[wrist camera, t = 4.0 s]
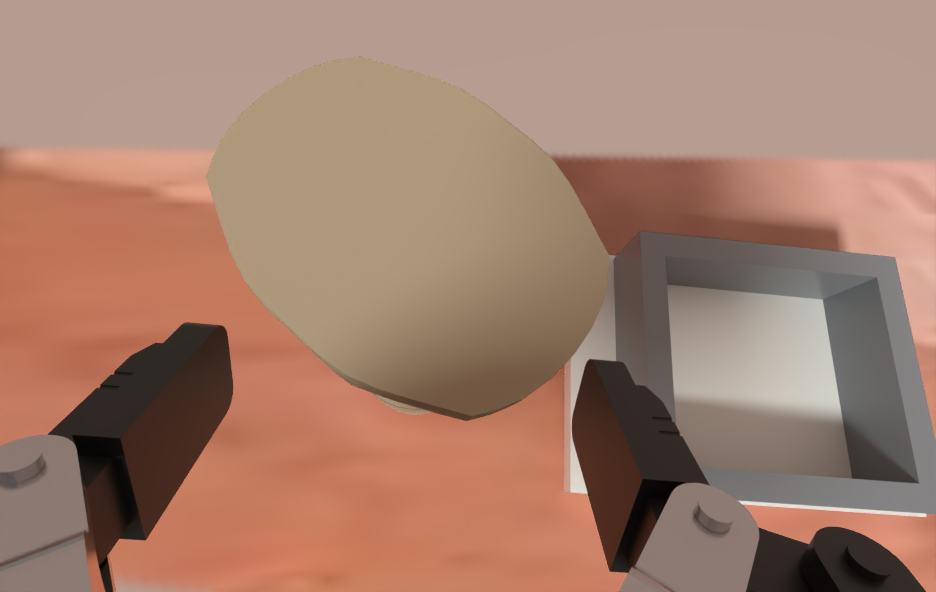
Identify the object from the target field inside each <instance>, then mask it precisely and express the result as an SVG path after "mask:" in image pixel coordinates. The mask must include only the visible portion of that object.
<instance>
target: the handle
mask: <svg viewBox="0 0 936 592" xmlns="http://www.w3.org/2000/svg"><path fill="white" fill-rule="evenodd" d="M206 178H207V181H208V184H209V188H210V191H211V194H212V197H213V201H214V204H215V207H216V211H217V214H218V217H219V220H220V223H221V226H222V229H223V232H224V235H225V238H226V241H227V244H228V247H229V250H230V253H231V255H232V257H233V259H234V261H235V263H236V265H237V267H238V269H239V271H240V273H241V275H242V277H243V279H244V281H245V282H246V284H247V285H248V286H249V287H250V289H251V290H252V291H253V293H254V294H255V295H256V296H257V298H258V299H259V300H260V302H261V303H262V304H263V305H264V306H265V307H266V308H267V309H268V310H269V311H270V312H271V313H272V314H273V315H274V316H275V317H276V318H277V319H278V320H279V321H280V322H281V323H282V324H284V325H285V326H286V327H287V328H288V329H289V330H290V331H291V332H292V333H293V334H294V335H295V336H296V337H297V338H298V339H299V340H301V341H302V342H303V343H304V344H305V345H306V346H307V347H308V348H309V349H310V350H311V351H312V352H313V353H314V354H316V355H317V356H318V357H319V358H320V359H321V360H322V361H323V362H324V363H325V364H326V365H327V366H329V367H330V368H331V369H332V370H333V371H334V372H335V373H336V374H337V375H339V376H340V377H341V378H343V379H344V380H345V381H347V382H348V383H350V384H351V385H353V386H356V387H358V388H361V389H363V390H366V391H369V392H371V393H373V394H374V395H375V396H376V397H377V398H378V399H379V400H380V401H382V402H383V403H384V404H385V405H387V406H389V407H390V408H392V409H394V410H396V411H399V412H402V413H406V414H415V415H419V414H427V413H430V412H434V413H438V414H442V415H445V416H449V417H453V418H457V419H461V420H465V421H469V420H472V419H476V418H480V417H483V416H487V415H490V414H493V413H495V412H497V411H500V410H502V409H504V408H507V407H509V406H511V405H514V404H516V403H518V402H519V401H521V400H522V399H524V398H525V397H527V396H528V395H529V394H531V393H532V392H534V391H535V390H536V389H538V388H539V387H540V386H542V385H543V384H544V383H546V382H547V381H549V380H550V379H551V378H552V377H553V376H554V375H555V374H556V373H557V372H558V371H559V370H560V369H561V368H562V367H563V366H564V365H565V364H566V363H567V362H568V360H569V359H570V358H571V357H572V356H573V355H574V354H575V353H576V351H577V350H578V348H579V347H580V345H581V344H582V342H583V341H584V339H585V338H586V336H587V335H588V333H589V332H590V330H591V329H592V327H593V325H594V323H595V320H596V318H597V316H598V313H599V311H600V309H601V307H602V304H603V302H604V298H605V292H606V287H607V281H608V269H609V254H608V252H607V250H606V248H605V247H604V245H603V243H602V241H601V239H600V237H599V235H598V233H597V231H596V229H595V228H594V226H593V224H592V222H591V220H590V218H589V216H588V214H587V212H586V211H585V209H584V207H583V205H582V204H581V202H580V200H579V198H578V196H577V195H576V193H575V191H574V189H573V188H572V186H571V184H570V182H569V181H568V180H567V178H566V177H565V175H564V174H563V173H562V171H561V170H560V169H559V167H558V166H557V164H556V163H555V162H554V160H553V159H552V158H551V157H550V156H549V155H547V154H546V153H545V152H544V151H543V150H542V149H541V148H540V147H539V146H538V145H537V144H536V143H535V142H533V141H532V140H531V139H530V138H529V137H527V136H526V135H525V134H524V133H522V132H521V131H520V130H518V129H517V128H516V127H514V126H513V125H512V124H511V123H509V122H508V121H507V120H506V119H504V118H503V117H502V116H500V115H499V114H498V113H497V112H495V111H494V110H493V109H491V108H490V107H489V106H488V105H486V104H485V103H483V102H482V101H480V100H478V99H477V98H475V97H474V96H472V95H470V94H469V93H467V92H466V91H464V90H463V89H461V88H458V87H456V86H453V85H451V84H448V83H446V82H444V81H441V80H439V79H436V78H433V77H430V76H426V75H423V74H420V73H416V72H413V71H410V70H407V69H403V68H400V67H396V66H392V65H389V64H385V63H382V62H378V61H374V60H371V59H367V58H364V57H354V58H347V59H340V60H335V61H331V62H327V63H324V64H320V65H316V66H313V67H311V68H309V69H307V70H305V71H302V72H300V73H298V74H296V75H294V76H292V77H289V78H288V79H286V80H285V81H283V82H282V83H280V84H279V85H277V86H276V87H274V88H273V89H271V90H270V91H268V92H267V93H265V94H264V95H262V96H261V97H260V98H259V99H258V100H257V101H256V102H254V103H253V104H252V105H251V106H250V107H249V108H248V109H246V110H245V111H244V112H243V113H242V114H241V115H240V116H239V118H238V119H237V120H236V121H235V122H234V124H233V125H232V126H231V127H230V128H229V130H228V131H227V132H226V133H225V134H224V136H223V138H222V140H221V142H220V144H219V146H218V148H217V150H216V152H215V154H214V156H213V158H212V161H211V164H210V167H209V170H208V173H207V176H206Z"/></svg>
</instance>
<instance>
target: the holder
mask: <svg viewBox="0 0 936 592" xmlns="http://www.w3.org/2000/svg"><path fill="white" fill-rule="evenodd" d="M589 359H597V360H608V361H619V362H623V363H624V364H625V365H626V367H627V369H628V371H629V373H630V375H631V377H632V379H633V381H634V383H635V385H642V386H646V387H647V388H648V389H649V390H651V391H652V392H653V393H654V394H655V395H656V396H657V397H658V398H659V399H661V400H662V401H663V403H664V405H665V406H666V408H667V410H668V412H669V414H670V415H671V417H672V422H675V424H676V426H677V428H678V430H679V431H680V436H682V437H683V438H684V440H685V442H686V444H687V446H688V447H689V449H690V451H691V453H692V454H693V456H694V458H695V460H696V462H697V463H698V465H699V467H700V469H701V470H702V472H703V474H704V476H705V478H706V479H707V481H708V483H709V485H710V486H712V487H715V488H717V489H720V490H722V491H724V492H726V493H727V494H729V495H731V496H732V497H733V498H735V499H736V500H738V501H739V502H740V503H741V504H745V505H759V506H774V507H788V508H803V509H817V510H832V511H846V512H861V513H875V514H890V515H904V516H919V517H926V514H936V441H935V436H934V432H933V427H932V423H931V418H930V414H929V409H928V405H927V400H926V395H925V391H924V386H923V382H922V377H921V373H920V368H919V364H918V359H917V355H916V350H915V345H914V341H913V336H912V332H911V327H910V323H909V318H908V314H907V309H906V305H905V300H904V295H903V291H902V286H901V282H900V277H899V273H898V268H897V264H896V259H895V257H889V256H879V255H869V254H860V253H850V252H840V251H830V250H821V249H811V248H801V247H792V246H782V245H772V244H762V243H753V242H743V241H733V240H724V239H714V238H704V237H694V236H685V235H675V234H665V233H656V232H646V231H639V233H638V234H637V235H636V236H635V237H634V238H633V239H632V240H631V241H630V242H629V243H628V244H627V245H626V246H625V247H624V249H623V250H622V251H621V252H620V253H619V254H618V255H617V256H616V255H609V269H608V281H607V287H606V292H605V298H604V302H603V304H602V307H601V309H600V311H599V313H598V316H597V318H596V320H595V323H594V325H593V327H592V329H591V330H590V332H589V333H588V335H587V336H586V338H585V339H584V341H583V342H582V344H581V345H580V347H579V348H578V350H577V351H576V353H575V354H574V355H573V356H572V357H571V358H570V359H569V360H568V362H567V363H566V364H565V365H564V491H565V492H571V493H586V494H588V493H587V489H586V486H585V482H584V478H583V475H582V471H581V468H580V464H579V461H578V457H577V454H576V450H575V446H574V443H573V438H572V416H573V411H574V407H575V403H576V399H577V395H578V391H579V388H580V384H581V380H582V376H583V372H584V368H585V365H586V363H587V361H588V360H589Z"/></svg>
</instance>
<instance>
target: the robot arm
mask: <svg viewBox="0 0 936 592" xmlns="http://www.w3.org/2000/svg"><path fill="white" fill-rule="evenodd" d="M232 395H233V379H232V370H231V361H230V353H229V344H228V336H227V331H226V329H225V328H224V327H223V326H221V325H211V324H199V323H188V322H187V323H184V324H182V325H181V326H180V327H179V328H178V329H177V330H176V331H175V332H174V333H173V334H172V335H171V336H170V337H169V338H168V339H167V340H166V341H165V342H164V343H155V344H153V345H151V346H149V347H147V348H145V349H143V350H141V351H139V352H137V353H135V354H133V355H131V356H130V357H129V358H128V359H127V360H126V361H125V362H124V363H123V364H122V365H121V366H120V367H119V368H118V369H116V370H115V373H114V375H110V376H109V377H108V378H107V379H106V380H105V381H104V382H103V383H102V384H101V386H100V388H96V389H95V390H94V391H93V392H92V393H91V394H90V395H89V396H88V397H87V398H86V399H85V400H84V401H83V402H82V403H80V404H79V405H78V406H77V407H76V408H75V409H74V410H73V411H72V412H71V413H70V414H69V415H68V416H67V417H66V418H65V419H64V420H62V421H61V422H60V423H59V424H58V425H57V426H56V427H55V428H54V429H53V430H52V431H51V432H50V433H49V434H48V435H38V436H31V437H26V438H22V439H18V440H15V441H12V442H9V443H7V444H4V445H2V446H0V592H116V588H115V583H114V577H113V571H112V566H111V561H110V558H109V555H108V554H109V553H110V551H111V550H112V548H113V547H114V545H115V544H116V542H117V541H118V540H119V539H133V540H146V539H147V538H148V536H149V534H150V533H151V531H152V530H153V528H154V527H155V525H156V523H157V522H158V520H159V519H160V517H161V516H162V514H163V512H164V511H165V509H166V508H167V506H168V504H169V503H170V501H171V500H172V498H173V497H174V495H175V493H176V492H177V490H178V489H179V487H180V486H181V484H182V482H183V481H184V479H185V478H186V476H187V475H188V473H189V471H190V470H191V468H192V467H193V465H194V464H195V462H196V460H197V459H198V457H199V456H200V454H201V453H202V451H203V449H204V448H205V446H206V445H207V443H208V442H209V440H210V438H211V437H212V435H213V434H214V432H215V431H216V429H217V427H218V426H219V424H220V423H221V421H222V420H223V418H224V416H225V415H226V413H227V411H228V409H229V407H230V404H231V400H232ZM572 438H573V443H574V446H575V450H576V454H577V457H578V461H579V464H580V468H581V471H582V475H583V478H584V482H585V486H586V489H587V493H588V496H589V500H590V503H591V507H592V510H593V514H594V518H595V521H596V525H597V528H598V532H599V535H600V539H601V542H602V546H603V550H604V553H605V557H606V560H607V564H608V567H609V571H610V572H626V573H628V575H627V577H626V579H625V581H624V583H623V585H622V587H621V589H620V591H619V592H926V591H925V590H924V589H923V587H922V586H921V585H920V583H919V582H918V581H917V580H916V578H915V577H914V576H913V575H912V573H911V572H910V571H909V570H908V569H907V567H906V566H905V565H904V564H903V563H902V562H901V561H900V560H899V559H898V558H897V557H896V556H895V555H893V554H892V553H891V552H890V551H889V550H887V549H886V548H884V547H883V546H882V545H880V544H879V543H877V542H875V541H874V540H872V539H870V538H868V537H866V536H864V535H862V534H860V533H857V532H855V531H852V530H849V529H845V528H840V527H825V528H822V529H820V530H819V531H817V532H816V534H815V536H814V537H813V539H812V541H811V542H810V544H806V543H803V542H800V541H797V540H794V539H791V538H788V537H785V536H782V535H778V534H775V533H772V532H769V531H766V530H764V529H761V528H759V527H758V526H757V523H756V521H755V520H754V518H753V516H752V515H751V514H750V512H749V511H748V510H747V509H746V508H745V507H744V506H743V505H742V504H741V503H740V502H739V501H738V500H736V499H735V498H733V497H732V496H731V495H729V494H727V493H726V492H724V491H722V490H720V489H717V488H715V487H712V486H710V485H709V483H708V481H707V479H706V478H705V476H704V474H703V472H702V470H701V469H700V467H699V465H698V463H697V462H696V460H695V458H694V456H693V454H692V453H691V451H690V449H689V447H688V446H687V444H686V442H685V440H684V438H683V437H682V436H680V431H679V430H678V428H677V426H676V424H675V422H672V417H671V415H670V414H669V412H668V410H667V408H666V406H665V405H664V403H663V401H662V400H661V399H659V398H658V397H657V396H656V395H655V394H654V393H653V392H652V391H651V390H649V389H648V388H647V387H646V386H642V385H635V383H634V381H633V379H632V377H631V375H630V373H629V371H628V369H627V367H626V365H625V364H624V363H623V362H619V361H608V360H597V359H589V360H588V361H587V363H586V365H585V368H584V372H583V376H582V380H581V384H580V388H579V391H578V395H577V399H576V403H575V407H574V411H573V416H572Z"/></svg>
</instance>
